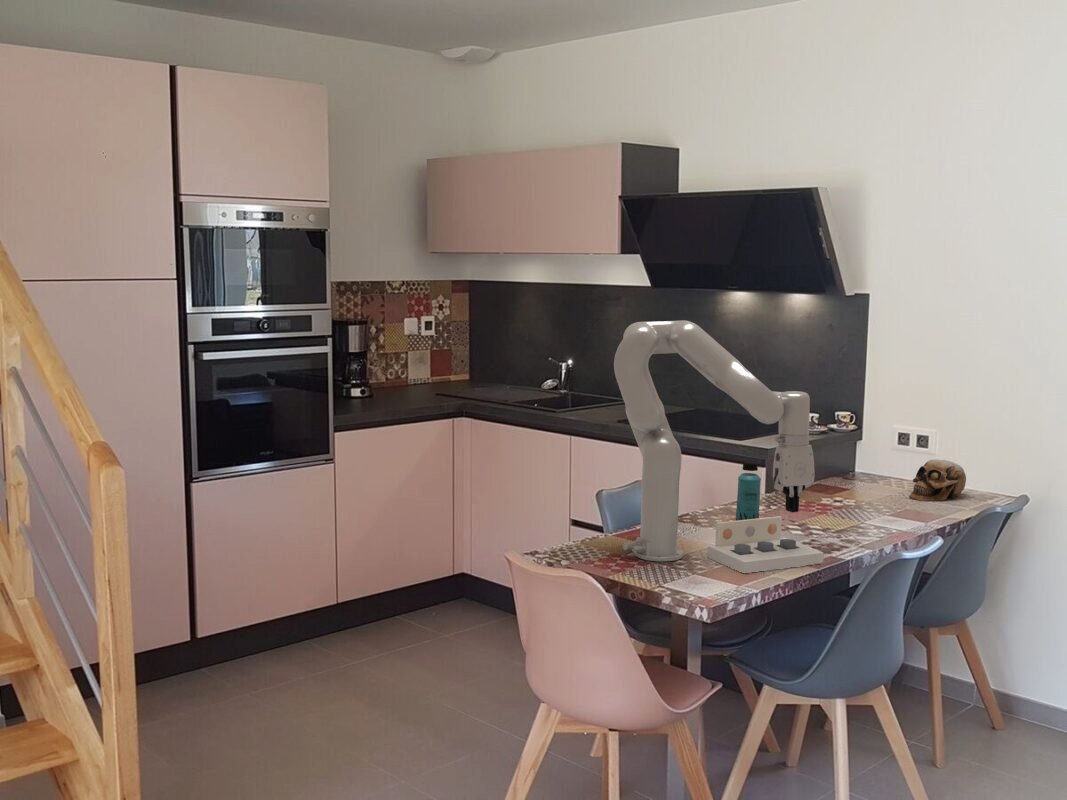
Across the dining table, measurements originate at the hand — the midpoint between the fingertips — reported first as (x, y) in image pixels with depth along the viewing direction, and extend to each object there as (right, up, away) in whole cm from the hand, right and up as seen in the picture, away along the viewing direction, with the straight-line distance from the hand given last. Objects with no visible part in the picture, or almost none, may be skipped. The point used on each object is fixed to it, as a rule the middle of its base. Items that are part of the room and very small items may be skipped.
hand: (792, 511), depth 274 cm
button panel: (-7, -13, -1) cm, 15 cm away
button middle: (-7, -11, -1) cm, 13 cm away
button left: (-14, -11, -4) cm, 18 cm away
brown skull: (+66, -4, +77) cm, 101 cm away
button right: (-1, -11, +1) cm, 11 cm away
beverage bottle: (-6, -9, +28) cm, 30 cm away
